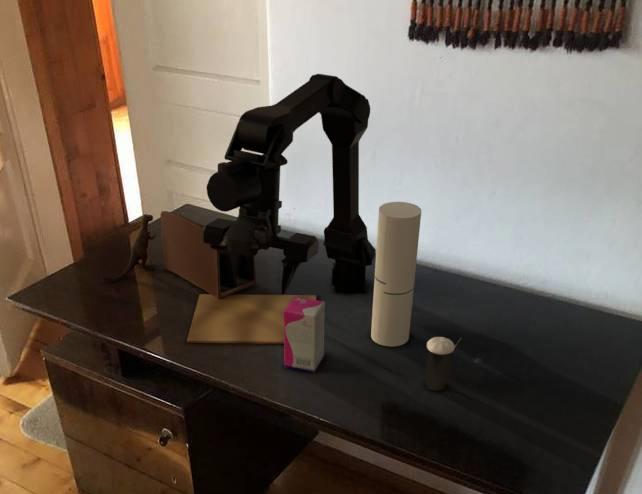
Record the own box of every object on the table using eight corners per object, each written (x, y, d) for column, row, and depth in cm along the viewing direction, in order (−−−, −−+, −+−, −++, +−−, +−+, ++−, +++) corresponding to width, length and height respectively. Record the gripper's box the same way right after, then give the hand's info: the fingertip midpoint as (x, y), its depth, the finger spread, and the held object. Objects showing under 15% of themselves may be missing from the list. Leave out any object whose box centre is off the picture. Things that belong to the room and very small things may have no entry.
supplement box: (324, 356, 133) (326, 300, 126) (314, 373, 129) (315, 317, 122) (294, 350, 135) (294, 295, 128) (283, 367, 130) (282, 311, 123)
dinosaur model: (155, 212, 156) (99, 239, 147) (166, 262, 163) (112, 290, 154) (143, 208, 158) (87, 234, 149) (154, 258, 165) (101, 285, 156)
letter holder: (219, 300, 149) (214, 234, 141) (164, 269, 161) (156, 206, 152) (257, 285, 154) (254, 220, 146) (201, 256, 166) (195, 195, 158)
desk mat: (316, 297, 151) (316, 295, 151) (315, 344, 136) (315, 341, 136) (199, 296, 151) (199, 294, 151) (187, 342, 137) (186, 340, 136)
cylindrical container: (387, 322, 143) (397, 198, 128) (416, 336, 139) (430, 209, 124) (363, 336, 139) (370, 209, 124) (392, 350, 135) (403, 221, 120)
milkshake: (453, 395, 124) (460, 345, 118) (421, 391, 124) (426, 341, 118) (454, 380, 127) (461, 330, 121) (423, 376, 128) (428, 327, 122)
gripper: (184, 200, 113) (187, 294, 121) (296, 220, 107) (291, 317, 116) (217, 183, 122) (218, 271, 130) (322, 201, 116) (316, 292, 125)
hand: (258, 288), depth 125 cm, fingers open, 9 cm apart
